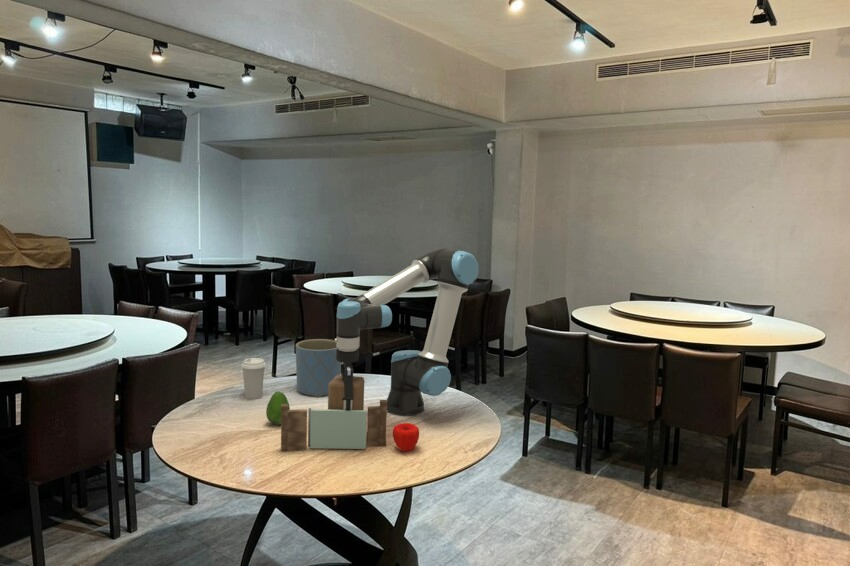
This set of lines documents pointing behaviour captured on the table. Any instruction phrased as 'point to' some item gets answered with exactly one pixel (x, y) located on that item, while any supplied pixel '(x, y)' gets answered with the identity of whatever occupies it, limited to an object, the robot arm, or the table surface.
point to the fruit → (276, 407)
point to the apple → (406, 436)
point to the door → (337, 429)
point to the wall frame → (297, 427)
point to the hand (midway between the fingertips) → (345, 411)
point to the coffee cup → (253, 377)
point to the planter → (316, 366)
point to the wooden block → (338, 393)
